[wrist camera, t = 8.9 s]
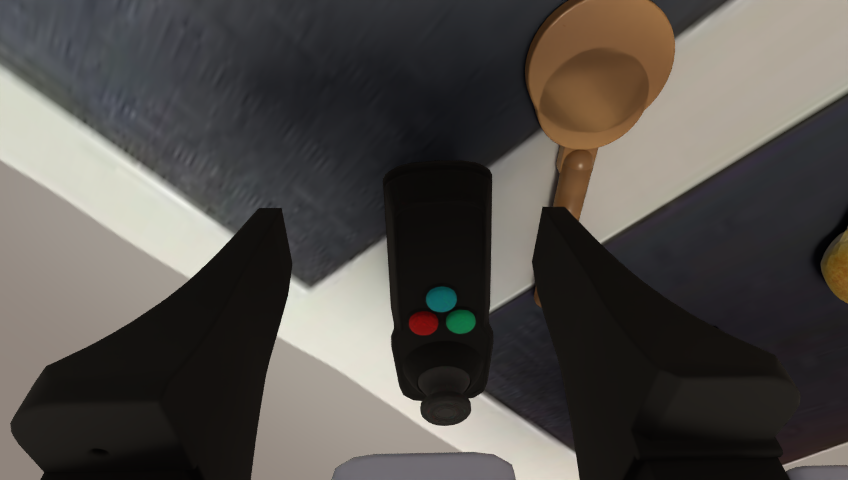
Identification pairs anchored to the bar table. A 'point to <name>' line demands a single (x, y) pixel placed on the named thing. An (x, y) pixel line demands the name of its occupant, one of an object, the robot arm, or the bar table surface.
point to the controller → (440, 283)
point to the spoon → (595, 81)
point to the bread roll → (837, 266)
